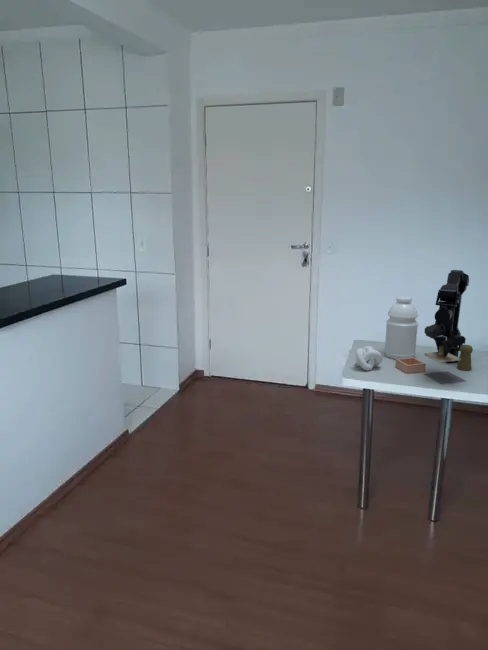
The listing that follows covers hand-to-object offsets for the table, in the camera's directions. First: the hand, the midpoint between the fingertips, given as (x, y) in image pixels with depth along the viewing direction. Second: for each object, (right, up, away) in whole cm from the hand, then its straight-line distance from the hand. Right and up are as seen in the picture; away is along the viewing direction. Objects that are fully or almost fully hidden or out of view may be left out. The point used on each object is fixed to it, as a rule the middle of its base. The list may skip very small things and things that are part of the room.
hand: (442, 354), depth 215 cm
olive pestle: (+14, -7, +12) cm, 20 cm away
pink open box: (-10, -7, +11) cm, 17 cm away
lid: (0, -1, 0) cm, 1 cm away
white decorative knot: (-28, -7, +14) cm, 32 cm away
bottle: (-9, -2, +31) cm, 32 cm away
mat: (+1, -10, +1) cm, 10 cm away
